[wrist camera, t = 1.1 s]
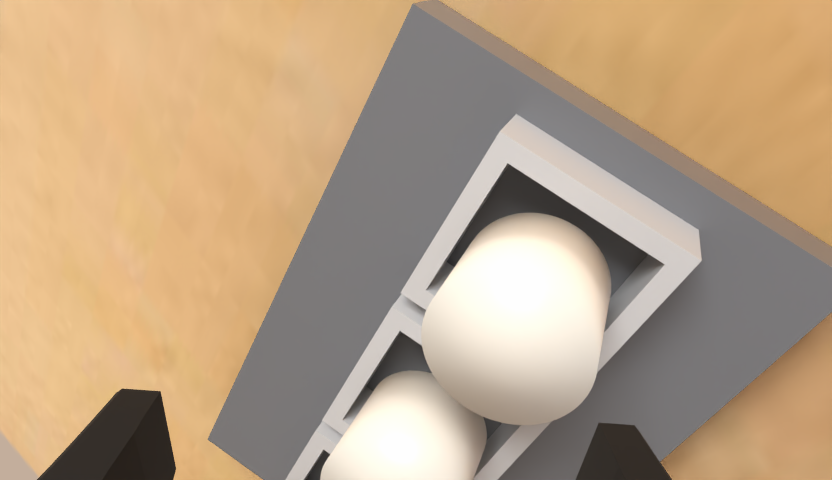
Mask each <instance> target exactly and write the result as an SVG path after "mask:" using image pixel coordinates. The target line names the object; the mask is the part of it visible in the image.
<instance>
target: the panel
mask: <svg viewBox="0 0 832 480" xmlns="http://www.w3.org/2000/svg"><path fill="white" fill-rule="evenodd" d="M517 213H541V214H548V215H551V216H555V217H558V218H561V219H563V220H565V221H568V222H569V223H571V224H573V225H575V226H576V227H578V228H579V229H581V230H582V231H583V232H585V233H586V234H587V235H588V236H589V237H590V238H591V239H592V240H593V241H594V242H595V244H596V245H597V246H598V247H599V249H600V251H601V252H602V254H603V255H604V257H605V260H606V262H607V264H608V268H609V271H610V276H611V296H610V301H609V307H608V313H607V318H606V324H605V330H604V335H603V341H602V346H601V352H600V358H599V363H598V369H597V375H596V379H595V382H594V384H593V387H592V389H591V390H590V392H589V394H588V396H587V397H586V398H585V399H584V401H583V402H582V403H581V404H580V405H579V406H578V407H577V408H575V409H574V410H573V411H571V412H570V413H568V414H567V415H565V416H563V417H561V418H559V419H557V420H553V421H550V422H547V423H542V424H537V425H513V424H506V423H501V422H497V421H494V420H491V419H488V418H485V417H483V418H484V421H485V425H486V429H487V441H486V446H485V449H484V452H483V454H482V457H481V460H480V462H479V465H478V468H477V470H476V473H475V476H474V478H473V480H576V477H577V475H578V472H579V470H580V467H581V465H582V463H583V460H584V458H585V455H586V453H587V450H588V448H589V445H590V443H591V440H592V438H593V435H594V433H595V430H596V428H597V426H598V423H611V424H625V425H635V426H636V428H637V429H638V430H639V431H640V433H641V434H642V436H643V437H644V439H645V440H646V442H647V443H648V445H649V446H650V448H651V449H652V451H653V452H654V454H655V455H656V457H657V458H658V460H659V461H662V460H663V459H664V458H665V457H666V456H667V455H668V454H670V453H671V452H672V451H673V450H674V449H675V448H676V447H678V446H679V445H680V444H681V443H682V442H683V441H684V440H686V439H687V438H688V437H689V436H690V435H691V434H692V433H694V432H695V431H696V430H697V429H698V428H699V427H701V426H702V425H703V424H704V423H705V422H706V421H707V420H709V419H710V418H711V417H712V416H713V415H714V414H715V413H717V412H718V411H719V410H720V409H721V408H722V407H723V406H725V405H726V404H727V403H728V402H729V401H730V400H731V399H733V398H734V397H735V396H736V395H737V394H738V393H739V392H741V391H742V390H743V389H744V388H745V387H746V386H748V385H749V384H750V383H751V382H752V381H753V380H754V379H756V378H757V377H758V376H759V375H760V374H761V373H762V372H764V371H765V370H766V369H767V368H768V367H769V366H770V365H772V364H773V363H774V362H775V361H776V360H777V359H778V358H780V357H781V356H782V355H783V354H784V353H785V352H786V351H788V350H789V349H790V348H791V347H792V346H793V345H794V344H796V343H797V342H798V341H799V340H800V339H801V338H803V337H804V336H805V335H806V334H807V333H808V332H809V331H811V330H812V329H813V328H814V327H815V326H816V325H817V324H819V323H820V322H821V321H822V320H823V319H824V318H825V317H827V316H828V315H829V314H830V313H831V312H832V247H831V246H829V245H828V244H826V243H825V242H823V241H821V240H820V239H818V238H817V237H815V236H813V235H812V234H810V233H809V232H807V231H805V230H804V229H802V228H801V227H799V226H797V225H796V224H794V223H793V222H791V221H789V220H788V219H786V218H785V217H783V216H782V215H780V214H778V213H777V212H775V211H774V210H772V209H770V208H769V207H767V206H766V205H764V204H762V203H761V202H759V201H758V200H756V199H754V198H753V197H751V196H750V195H748V194H746V193H745V192H743V191H742V190H740V189H738V188H737V187H735V186H734V185H732V184H730V183H729V182H727V181H726V180H724V179H722V178H721V177H719V176H718V175H716V174H714V173H713V172H711V171H710V170H708V169H706V168H705V167H703V166H702V165H700V164H698V163H697V162H695V161H694V160H692V159H691V158H689V157H687V156H686V155H684V154H683V153H681V152H679V151H678V150H676V149H675V148H673V147H671V146H670V145H668V144H667V143H665V142H663V141H662V140H660V139H659V138H657V137H655V136H654V135H652V134H651V133H649V132H647V131H646V130H644V129H643V128H641V127H639V126H638V125H636V124H635V123H633V122H631V121H630V120H628V119H627V118H625V117H623V116H622V115H620V114H619V113H617V112H615V111H614V110H612V109H611V108H609V107H608V106H606V105H604V104H603V103H601V102H600V101H598V100H596V99H595V98H593V97H592V96H590V95H588V94H587V93H585V92H584V91H582V90H580V89H579V88H577V87H576V86H574V85H572V84H571V83H569V82H568V81H566V80H564V79H563V78H561V77H560V76H558V75H556V74H555V73H553V72H552V71H550V70H548V69H547V68H545V67H544V66H542V65H540V64H539V63H537V62H536V61H534V60H532V59H531V58H529V57H528V56H526V55H524V54H523V53H521V52H520V51H518V50H517V49H515V48H513V47H512V46H510V45H509V44H507V43H505V42H504V41H502V40H501V39H499V38H497V37H496V36H494V35H493V34H491V33H489V32H488V31H486V30H485V29H483V28H481V27H480V26H478V25H477V24H475V23H473V22H472V21H470V20H469V19H467V18H465V17H464V16H462V15H461V14H459V13H457V12H456V11H454V10H453V9H451V8H449V7H448V6H446V5H445V4H443V3H441V2H440V1H438V0H428V1H423V2H419V3H414V4H412V6H411V9H410V11H409V13H408V15H407V17H406V19H405V21H404V23H403V26H402V28H401V30H400V32H399V34H398V36H397V38H396V40H395V43H394V45H393V47H392V49H391V51H390V53H389V55H388V57H387V60H386V62H385V64H384V66H383V68H382V70H381V72H380V74H379V77H378V79H377V81H376V83H375V85H374V87H373V89H372V91H371V94H370V96H369V98H368V100H367V102H366V104H365V106H364V108H363V111H362V113H361V115H360V117H359V119H358V121H357V123H356V125H355V128H354V130H353V132H352V134H351V136H350V138H349V140H348V142H347V145H346V147H345V149H344V151H343V153H342V155H341V157H340V159H339V162H338V164H337V166H336V168H335V170H334V172H333V174H332V176H331V179H330V181H329V183H328V185H327V187H326V189H325V191H324V193H323V196H322V198H321V200H320V202H319V204H318V206H317V208H316V210H315V213H314V215H313V217H312V219H311V221H310V223H309V225H308V227H307V230H306V232H305V234H304V236H303V238H302V240H301V242H300V244H299V247H298V249H297V251H296V253H295V255H294V257H293V259H292V261H291V263H290V266H289V268H288V270H287V272H286V274H285V276H284V278H283V280H282V283H281V285H280V287H279V289H278V291H277V293H276V295H275V297H274V300H273V302H272V304H271V306H270V308H269V310H268V312H267V314H266V317H265V319H264V321H263V323H262V325H261V327H260V329H259V331H258V334H257V336H256V338H255V340H254V342H253V344H252V346H251V348H250V351H249V353H248V355H247V357H246V359H245V361H244V363H243V365H242V368H241V370H240V372H239V374H238V376H237V378H236V380H235V382H234V385H233V387H232V389H231V391H230V393H229V395H228V397H227V399H226V402H225V404H224V406H223V408H222V410H221V412H220V414H219V416H218V419H217V421H216V423H215V425H214V427H213V429H212V431H211V433H210V436H209V438H208V440H209V441H210V442H212V443H213V444H215V445H216V446H217V447H219V448H220V449H222V450H223V451H224V452H226V453H227V454H228V455H230V456H231V457H233V458H234V459H235V460H237V461H238V462H240V463H241V464H242V465H244V466H245V467H247V468H248V469H249V470H251V471H252V472H253V473H255V474H256V475H258V476H259V477H260V478H262V479H263V480H320V477H321V471H322V468H323V466H324V464H325V462H326V460H327V459H328V457H329V456H330V454H331V453H332V451H333V450H334V448H335V447H336V446H337V444H338V443H339V441H340V440H341V438H342V437H343V435H344V434H345V432H346V431H347V429H348V428H349V426H350V425H351V423H352V422H353V420H354V419H355V417H356V416H357V414H358V413H359V412H360V410H361V409H362V407H363V406H364V404H365V403H366V401H367V400H368V398H369V397H370V395H371V394H372V392H373V391H374V389H375V388H376V387H377V385H378V384H379V383H380V382H381V381H382V380H383V379H385V378H386V377H388V376H389V375H392V374H394V373H397V372H401V371H409V370H411V371H424V372H428V373H432V372H431V370H430V368H429V366H428V364H427V361H426V359H425V356H424V352H423V348H422V341H421V328H422V323H423V318H424V315H425V312H426V310H427V308H428V306H429V304H430V302H431V301H432V299H433V298H434V296H435V295H436V293H437V292H438V291H439V289H440V288H441V286H442V285H443V283H444V282H445V280H446V279H447V277H448V276H449V274H450V273H451V272H452V270H453V269H454V267H455V266H456V264H457V263H458V261H459V260H460V258H461V257H462V255H463V254H464V253H465V251H466V250H467V248H468V247H469V245H470V244H471V242H472V241H473V240H474V238H475V237H476V236H477V234H478V233H479V232H480V231H481V230H483V229H484V228H485V227H486V226H488V225H489V224H490V223H492V222H494V221H496V220H498V219H500V218H503V217H505V216H508V215H513V214H517Z"/></svg>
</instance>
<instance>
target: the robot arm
mask: <svg viewBox="0 0 832 480" xmlns="http://www.w3.org/2000/svg"><path fill="white" fill-rule="evenodd" d="M175 470H176V467H175V462H174V457H173V452H172V447H171V442H170V437H169V432H168V427H167V422H166V417H165V412H164V407H163V402H162V397H161V392H160V391H147V390H133V389H121V390H120V391H118V392H117V393H116V394H115V395H114V396H113V397H112V398H111V400H110V401H109V402H108V403H107V404H106V405H105V406H104V407H103V409H102V410H101V411H100V412H99V413H98V414H97V415H96V416H95V418H94V419H93V420H92V421H91V422H90V423H89V424H88V425H87V427H86V428H85V429H84V430H83V431H82V432H81V433H80V434H79V435H78V436H77V438H76V439H75V440H74V441H73V442H72V443H71V444H70V445H69V446H68V447H67V448H66V450H65V451H64V452H63V453H62V454H61V455H60V456H59V457H58V458H57V459H56V460H55V461H54V462H53V464H52V465H51V466H50V467H49V468H48V469H47V470H46V471H45V472H44V473H43V474H42V475H41V476H40V477H39V478H38V479H37V480H173V478H174V474H175ZM576 480H672V479H671V478H670V476H669V475H668V473H667V472H666V470H665V469H664V467H663V466H662V464H661V463H660V461H659V460H658V458H657V457H656V455H655V454H654V452H653V451H652V449H651V448H650V446H649V445H648V443H647V442H646V440H645V439H644V437H643V436H642V434H641V433H640V431H639V430H638V429H637V428H636V426H635V425H625V424H611V423H598V426H597V428H596V430H595V433H594V435H593V438H592V440H591V443H590V445H589V448H588V450H587V453H586V455H585V458H584V460H583V463H582V465H581V467H580V470H579V472H578V475H577V477H576Z"/></svg>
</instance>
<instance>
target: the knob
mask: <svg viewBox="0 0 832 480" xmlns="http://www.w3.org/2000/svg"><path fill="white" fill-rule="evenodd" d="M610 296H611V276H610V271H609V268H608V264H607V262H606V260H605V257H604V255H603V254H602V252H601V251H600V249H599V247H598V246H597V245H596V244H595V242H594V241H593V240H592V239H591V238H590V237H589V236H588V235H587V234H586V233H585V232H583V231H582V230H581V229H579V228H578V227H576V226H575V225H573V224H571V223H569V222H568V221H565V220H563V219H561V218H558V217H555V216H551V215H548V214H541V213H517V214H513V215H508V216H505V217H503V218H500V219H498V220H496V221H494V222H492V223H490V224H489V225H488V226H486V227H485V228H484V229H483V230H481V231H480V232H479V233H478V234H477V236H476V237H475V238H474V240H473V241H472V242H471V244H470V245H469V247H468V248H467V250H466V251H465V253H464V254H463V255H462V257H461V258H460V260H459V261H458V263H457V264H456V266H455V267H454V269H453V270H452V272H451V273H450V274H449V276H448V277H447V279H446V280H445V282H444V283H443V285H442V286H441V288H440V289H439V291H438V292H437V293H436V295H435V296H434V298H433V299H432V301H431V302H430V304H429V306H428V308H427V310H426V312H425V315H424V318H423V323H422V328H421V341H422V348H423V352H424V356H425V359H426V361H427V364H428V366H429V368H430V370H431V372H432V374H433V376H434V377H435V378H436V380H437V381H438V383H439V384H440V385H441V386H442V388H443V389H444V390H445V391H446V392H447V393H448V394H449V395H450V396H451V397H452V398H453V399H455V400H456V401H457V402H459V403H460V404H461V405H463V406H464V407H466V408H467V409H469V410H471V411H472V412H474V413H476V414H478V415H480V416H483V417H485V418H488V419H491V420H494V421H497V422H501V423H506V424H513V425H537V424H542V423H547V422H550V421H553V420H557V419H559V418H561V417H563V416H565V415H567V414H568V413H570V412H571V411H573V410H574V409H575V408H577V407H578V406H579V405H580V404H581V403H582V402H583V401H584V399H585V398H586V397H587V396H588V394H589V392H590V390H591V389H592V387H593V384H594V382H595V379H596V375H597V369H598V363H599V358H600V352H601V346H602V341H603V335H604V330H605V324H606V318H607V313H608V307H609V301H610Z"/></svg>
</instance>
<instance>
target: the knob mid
mask: <svg viewBox="0 0 832 480" xmlns="http://www.w3.org/2000/svg"><path fill="white" fill-rule="evenodd" d="M486 441H487V429H486V425H485V421H484V418H483V416H480V415H478V414H476V413H474V412H472V411H471V410H469V409H467V408H466V407H464V406H463V405H461V404H460V403H459V402H457V401H456V400H455V399H453V398H452V397H451V396H450V395H449V394H448V393H447V392H446V391H445V390H444V389H443V388H442V386H441V385H440V384H439V383H438V381H437V380H436V378H435V377H434V376H433V374H432V373H428V372H424V371H411V370H409V371H401V372H397V373H394V374H392V375H389V376H388V377H386V378H385V379H383V380H382V381H381V382H380V383H379V384H378V385H377V387H376V388H375V389H374V391H373V392H372V394H371V395H370V397H369V398H368V400H367V401H366V403H365V404H364V406H363V407H362V409H361V410H360V412H359V413H358V414H357V416H356V417H355V419H354V420H353V422H352V423H351V425H350V426H349V428H348V429H347V431H346V432H345V434H344V435H343V437H342V438H341V440H340V441H339V443H338V444H337V446H336V447H335V448H334V450H333V451H332V453H331V454H330V456H329V457H328V459H327V460H326V462H325V464H324V466H323V468H322V471H321V477H320V480H473V478H474V476H475V473H476V470H477V468H478V465H479V462H480V460H481V457H482V454H483V452H484V449H485V446H486Z"/></svg>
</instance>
